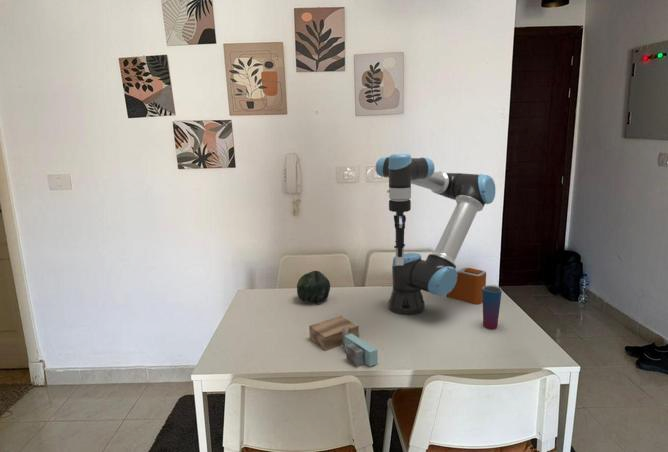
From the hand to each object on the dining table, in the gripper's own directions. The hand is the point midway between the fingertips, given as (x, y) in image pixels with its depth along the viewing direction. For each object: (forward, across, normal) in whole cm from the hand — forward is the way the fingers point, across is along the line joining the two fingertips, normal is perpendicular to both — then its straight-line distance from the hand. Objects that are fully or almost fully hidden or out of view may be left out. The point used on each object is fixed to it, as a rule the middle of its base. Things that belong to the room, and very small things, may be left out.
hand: (399, 264), depth 154 cm
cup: (+27, -6, +34) cm, 44 cm away
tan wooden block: (+26, +11, -19) cm, 35 cm away
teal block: (+26, +18, -14) cm, 35 cm away
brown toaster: (+27, -35, +31) cm, 54 cm away
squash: (+27, -32, -36) cm, 55 cm away
